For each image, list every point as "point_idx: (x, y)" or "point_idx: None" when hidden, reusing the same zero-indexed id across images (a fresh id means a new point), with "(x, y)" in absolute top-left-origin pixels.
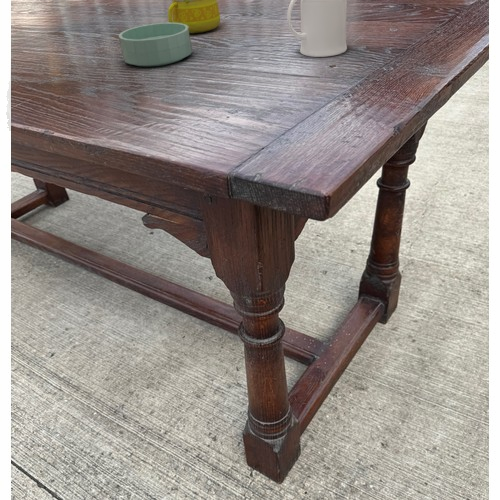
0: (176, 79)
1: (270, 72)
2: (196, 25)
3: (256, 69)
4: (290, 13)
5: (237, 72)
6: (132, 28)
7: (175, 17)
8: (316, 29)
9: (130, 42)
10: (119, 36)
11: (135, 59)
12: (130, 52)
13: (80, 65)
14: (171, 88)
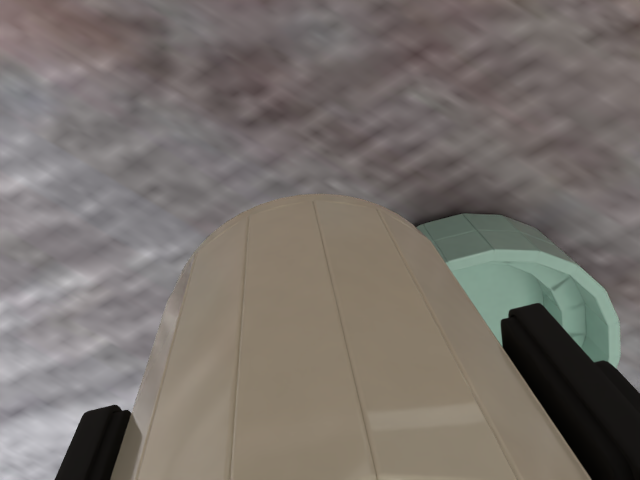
0: (193, 228)
1: (8, 421)
2: None
3: (68, 416)
4: None
5: (90, 372)
6: (611, 351)
7: None
8: None
9: (463, 252)
10: (562, 262)
11: (437, 228)
12: (463, 233)
13: None
14: (119, 165)
